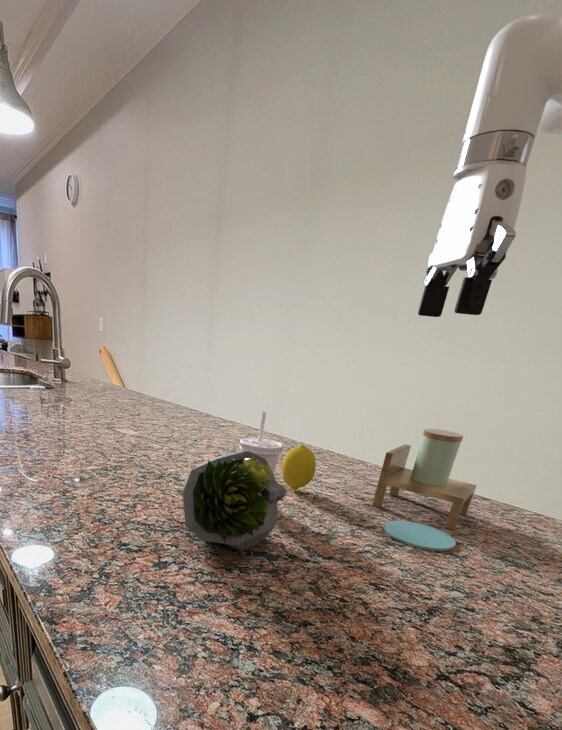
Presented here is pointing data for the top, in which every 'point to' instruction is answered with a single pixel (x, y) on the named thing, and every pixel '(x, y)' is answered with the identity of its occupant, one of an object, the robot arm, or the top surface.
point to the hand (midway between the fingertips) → (446, 315)
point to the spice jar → (436, 457)
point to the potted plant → (232, 500)
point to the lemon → (298, 467)
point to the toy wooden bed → (421, 485)
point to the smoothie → (263, 446)
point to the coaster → (420, 535)
